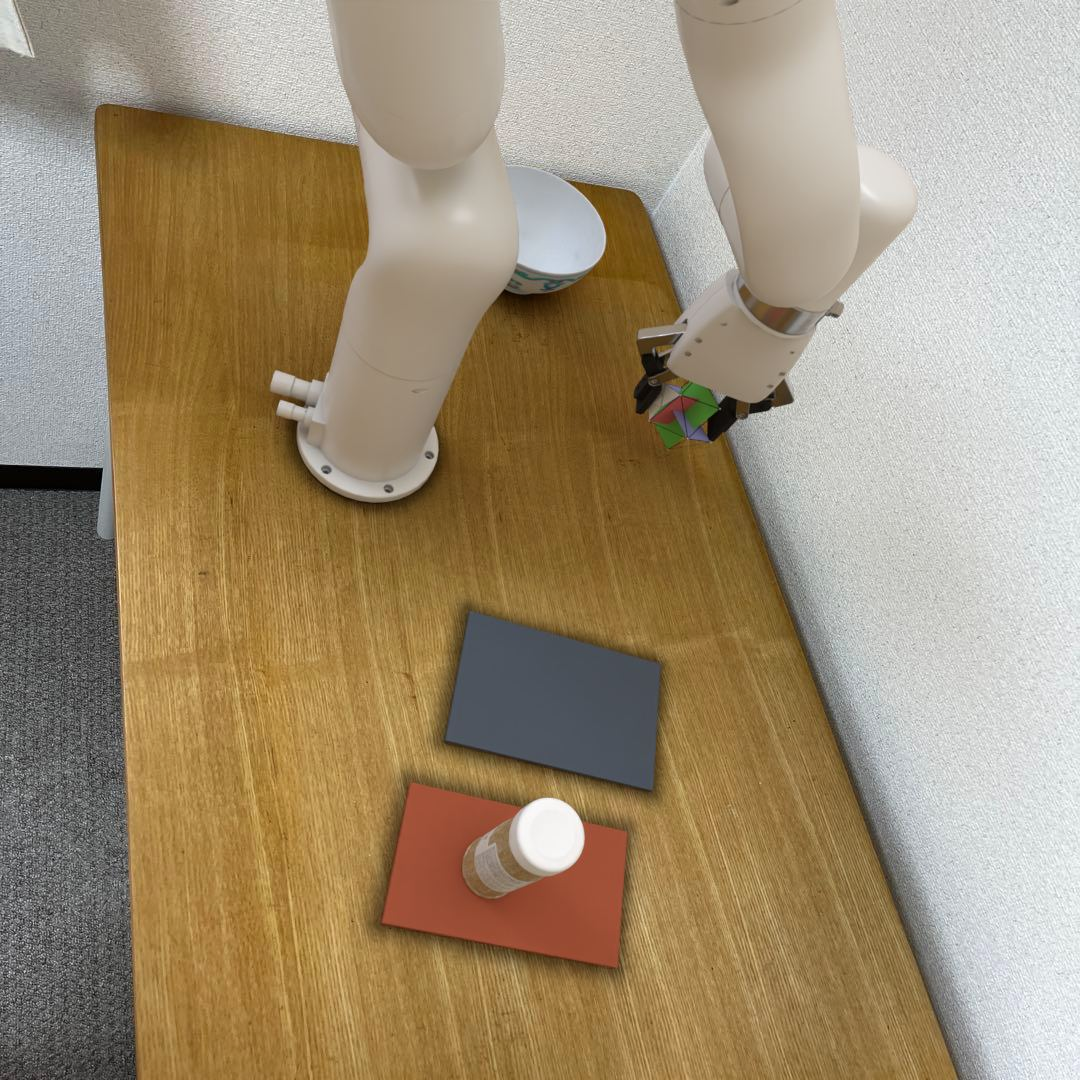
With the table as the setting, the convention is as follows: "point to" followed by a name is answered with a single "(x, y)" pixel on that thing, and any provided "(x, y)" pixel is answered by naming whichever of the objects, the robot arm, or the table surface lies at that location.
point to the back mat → (555, 703)
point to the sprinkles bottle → (524, 849)
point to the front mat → (519, 916)
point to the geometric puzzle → (682, 413)
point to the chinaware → (552, 232)
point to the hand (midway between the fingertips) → (675, 415)
